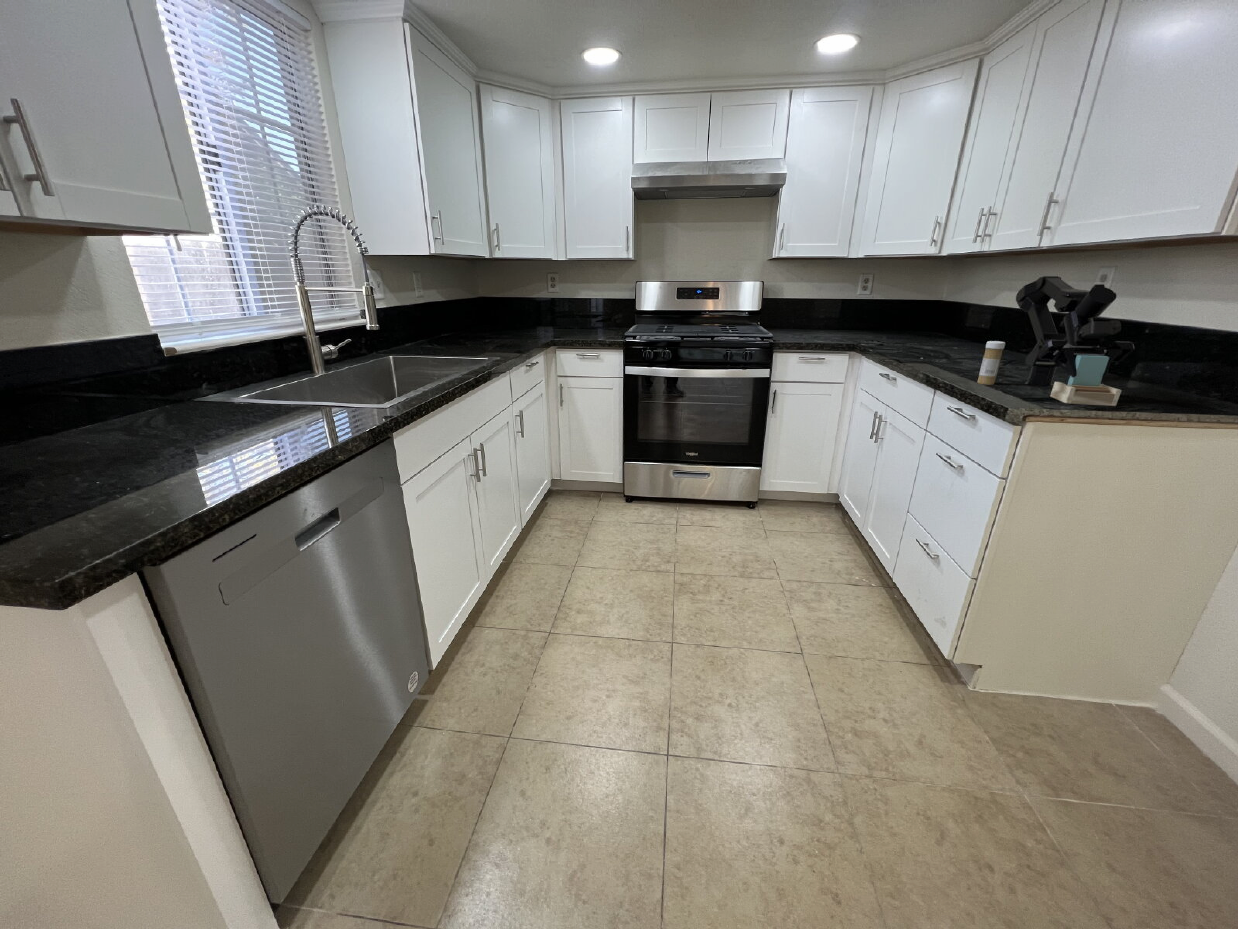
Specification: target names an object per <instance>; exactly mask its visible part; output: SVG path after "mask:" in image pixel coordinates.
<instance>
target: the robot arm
mask: <svg viewBox="0 0 1238 929" xmlns="http://www.w3.org/2000/svg"><path fill="white" fill-rule="evenodd" d="M1116 299H1117V293H1116V292H1114V290H1112V289H1111V288H1109V287H1106V286H1105V284H1100V283H1099V284H1097V283H1096V284H1094V285H1093V286H1092V287H1091V289H1090V290H1086V289H1076V288H1074V287H1073V286H1071V285H1070V284H1069V283H1067V282H1065V281H1064V280H1063V279H1062V277H1061V276H1059V275H1043V276H1040V277H1039V278H1038V279H1036V280H1035V281H1032V282H1029V283H1027V284H1025V285H1024V286H1023V287H1021V289H1019V290H1018V292H1017V294H1016V295H1015V302H1016V304H1017V305H1018V307H1019V309H1021V310H1022V311H1024V312H1025V313H1028V317H1029V319H1030V323H1031V326H1032V329H1033V332H1034V335H1035V339H1036V344H1035V346H1034V347H1033V349H1032V350H1031V351H1030V352H1029V353H1028V354H1027V356H1026V357H1025V365H1027V366H1031V369H1030V373H1029V376H1028V380H1027V381H1026V382H1025V383H1024V385H1033V386H1039V387H1041V386H1043V387H1045V386H1054V383H1053V380H1054V377H1055V374H1056V371H1057V368H1061V369H1063V371H1064V372H1066V373H1067V374H1068V375H1069V376H1070V375H1071V376H1072V377H1075V376H1076V375H1077V371H1076V366H1075V357H1074V356H1075V355H1076V356H1077V355H1087V356H1107V357H1109V360H1108V363H1107V366H1106V368H1105V371H1104V374H1103V377H1102V379H1105V378H1107V375H1108V372H1109V370H1110V369H1109V368H1110V367H1111V364H1112V363H1121V362H1122V361H1123V360H1124V359H1125V358H1126V357H1129V355H1130V354H1131V353H1133V352H1134V351H1135V345H1134V343H1133V342H1131V341H1118V340H1117V341H1114V340H1113V341H1112V342H1111V343H1110V344H1109V345H1108V346H1099V344H1102V343H1103V342H1104V341H1105V338H1106V337H1108V336H1113V335H1116V334H1118V333H1119V332H1121V330H1122V324H1121V321H1120V320H1109V321H1103V320H1102V321H1098V320H1097V321H1096V320H1095V321H1094V319H1093V318H1098V317H1100V316H1101V315H1102V314H1103V313H1104V312H1105V311H1106V310H1107V309H1108V308H1109V307H1110V306H1111V305H1112V304H1113V302H1115V301H1116ZM1051 300H1054V303H1053V307H1054V309H1055V310H1056V312H1057V313H1061V314H1063V313H1064V314H1065V313H1066V315H1065V316H1064V317H1063V320H1062V321H1061V322H1060V324H1059V327H1062V328H1065V333H1058V331H1057V329H1056V325H1055V322H1054V319H1053V317H1052V314H1051V311H1050V308H1049V306H1048V304H1049V303H1050V301H1051Z"/></svg>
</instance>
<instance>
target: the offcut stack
mask: <svg viewBox="0 0 1238 929" xmlns="http://www.w3.org/2000/svg"><path fill="white" fill-rule="evenodd" d="M1069 386H1071V387H1074V388H1076V389H1075V391H1079V392H1100V393H1110V390H1108V389H1107V387H1104V386H1082V385H1069Z"/></svg>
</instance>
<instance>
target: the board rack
mask: <svg viewBox="0 0 1238 929" xmlns="http://www.w3.org/2000/svg"><path fill="white" fill-rule="evenodd" d="M1053 384H1054V385H1052V390H1051V393H1050V397H1051V398H1053V399H1055V400H1058V401H1060V402H1062V403H1065V404H1070V405H1071V404H1074V405H1089V406H1090V405H1091V406H1092V405H1093V406H1094V405H1095V406H1112V407H1116V406H1117V404H1118V401H1119V398H1120V395H1121V393H1122V390H1121V389H1119V388H1116V387H1112V386H1109V385H1107V384H1104V383H1100V386H1104V387H1107V389H1108V390H1110V393H1100V392H1079V391H1075V389H1076V388H1074V387H1071V386H1069V385H1067V384H1066V383H1064V382H1060V381H1054V383H1053Z"/></svg>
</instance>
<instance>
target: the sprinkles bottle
mask: <svg viewBox="0 0 1238 929" xmlns="http://www.w3.org/2000/svg"><path fill="white" fill-rule="evenodd" d="M1005 346H1006V342H1005V341H999V340H994V341H993V340H989V341H987V342H986V344H985V351H984V354H983V357H982V361H981V366H980V370H979V374H978V379H977V381H976V383H977V384H980V385H989V386H991V385H993V386H994V385H995V381H996V378H997V375H998V371H999V368H1000V364H1001V359H1002V356H1003V351H1004V349H1005Z"/></svg>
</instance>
